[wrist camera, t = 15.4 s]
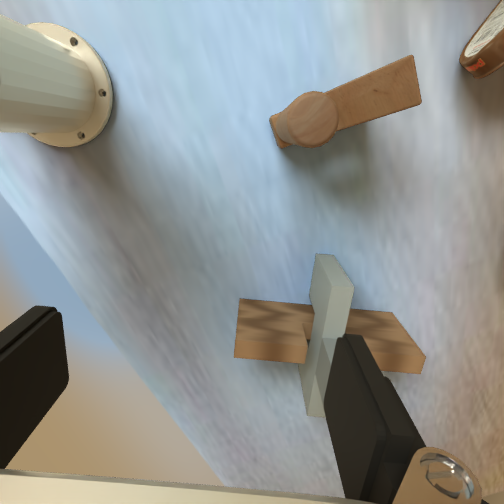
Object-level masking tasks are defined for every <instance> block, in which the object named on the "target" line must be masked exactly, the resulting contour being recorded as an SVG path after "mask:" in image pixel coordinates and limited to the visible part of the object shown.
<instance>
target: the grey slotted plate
mask: <svg viewBox="0 0 504 504" xmlns="http://www.w3.org/2000/svg"><path fill="white" fill-rule="evenodd" d="M353 292H354V286H353V285H352V283H351V281H350V280H349V278H348V277H347V275H346V274H345V272H344V271H343V269H342V267H341V266H340V264H339V263H338V261H337V260H336V258H335V256H334V255H327V254H316V256H315V262H314V268H313V274H312V280H311V286H310V292H309V297H310V300H311V303H312V306H313V309H314V312H315V316H314V322H313V327H312V333H311V338H310V339H306V341H307V345H308V348H307V354H306V359H305V364H302V363H298V368H299V373H300V379H301V385H302V390H303V396H304V401H305V407H306V412H307V416H314V417H326V416H325V412H324V396H325V391H326V387H327V382H328V378H329V373H330V368H331V364H332V359H333V354H334V350H335V345H336V341H337V338H338V337H342V336H343V334H345V329H346V324H347V320H348V315H349V311H350V306H351V301H352V297H353Z"/></svg>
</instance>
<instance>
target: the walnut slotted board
mask: <svg viewBox="0 0 504 504" xmlns="http://www.w3.org/2000/svg"><path fill="white" fill-rule="evenodd" d="M314 316H315V312H314V309H313V306H312V305H305V304H294V303H283V302H272V301H261V300H250V299H240V301H239V310H238V320H237V329H236V339H235V349H234V358H245V359H257V360H268V361H279V362H290V363H302V364H305V359H306V354H307V348H308V345H307V341H306V339H310V338H311V333H312V327H313V322H314ZM345 333H346V334H357V335H362V336H363V338H364V340H365V342H366V344H367V346H368V348H369V350H370V351H371V353H372V355H373V357H374V359H375V361H376V363H377V365H378V367H379V369H380V370H381V371H392V372H404V373H415V374H421V371H422V368H423V365H424V362H425V359H426V356H425V355H424V354H423V352H422V351H421V350H420V348H419V347H418V346H417V344H416V343H415V342H414V341H413V339H412V338H411V337H410V335H409V334H408V333H407V331H406V330H405V329H404V327H403V326H402V325H401V324H400V322H399V321H398V320H397V318H396V317H395V316H394V314H393V313H392V312H381V311H370V310H359V309H350V311H349V315H348V320H347V324H346V329H345Z"/></svg>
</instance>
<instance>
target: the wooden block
mask: <svg viewBox="0 0 504 504" xmlns="http://www.w3.org/2000/svg"><path fill="white" fill-rule="evenodd" d="M421 102H422V100H421V95H420V89H419V84H418V78H417V73H416V67H415V62H414V56H413V55H409V56H407V57H404V58H402V59H400V60H397V61H395V62H393V63H391V64H388V65H386V66H384V67H382V68H379V69H377V70H375V71H373V72H370V73H368V74H366V75H363V76H361V77H359V78H357V79H354V80H352V81H350V82H348V83H345V84H343V85H341V86H339V87H336V88H334V89H332V90H330V91H327V92H325V93H322V92H317V91H311V92H307V93H304V94H302V95H301V96H299V97H297V98H296V99H295V100H294V101H293V102H292V103H291V104H290V105H289V106H288V107H287V108H285V109H284V110H283V111H282V112H280V113H277V114H275V115H272V116H271V117H270V118H269V121H270V124H271V128H272V131H273V134H274V137H275V140H276V143H277V146H278V147H279V148H285V147H287V146H290V145H292V144H294V145H298V146H302V147H308V148H315V147H320V146H322V145H324V144H325V143H327V142H328V141H329V140H330V139H331V138H332V137H333V136H334V134H335V132H336V131H339V130H343V129H346V128H349V127H352V126H355V125H358V124H361V123H364V122H367V121H371V120H374V119H377V118H380V117H383V116H386V115H389V114H392V113H396V112H399V111H402V110H405V109H408V108H411V107H414V106H417V105H420V104H421Z"/></svg>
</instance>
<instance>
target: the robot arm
mask: <svg viewBox="0 0 504 504" xmlns="http://www.w3.org/2000/svg"><path fill="white" fill-rule="evenodd" d="M76 42H78V45H76ZM104 92H106V96H104ZM112 104H113V91H112V86H111V80H110V77H109V74H108V71H107V69H106V67H105V65H104V63H103V61H102V59H101V58H100V56H99V55H98V54H97V52H96V51H95V50H94V48H93V47H92V46H91V45H90V44H89V43H88V42H87V41H86V40H84V39H83V38H82V37H80V36H79V35H77V34H76V33H74V32H73V31H71V30H69V29H67V28H65V27H62V26H59V25H56V24H53V23H44V22H39V23H30V24H28V25H22V24H20V23H18V22H16V21H14V20H12V19H10V18H8V17H6V16H3V15H1V14H0V132H7V133H27V134H29V135H30V136H32V137H33V138H35V139H37V140H38V141H41V142H43V143H46V144H48V145H52V146H57V147H73V146H79V145H82V144H85V143H87V142H89V141H91V140H92V139H94V138H95V137H96V136H97V135H99V134H100V133H101V132H102V130H103V129H104V127H105V126H106V124H107V122H108V119H109V117H110V114H111V109H112ZM83 134H85V138H84V137H83ZM68 381H69V373H68V364H67V356H66V347H65V339H64V330H63V322H62V315H61V313H60V312H57V309H56V308H55V307H48V306H47V307H46V306H34V307H32V308H31V309H30V310H28V311H27V312H26V313H25V314H23V315H22V316H21V317H20V318H18V319H17V320H15V321H14V322H13V323H11V324H10V325H9V326H8V327H6V328H5V329H4V330H2V331H1V332H0V504H488V503H487V502H486V501H484V500H483V499H482V489H481V486H480V484H479V481H478V479H477V478H476V476H475V475H474V474H473V472H472V471H471V470H470V469H469V468H468V467H467V466H466V465H465V464H464V463H463V462H462V461H461V460H459V459H458V458H456V457H455V456H454V455H452V454H450V453H448V452H446V451H444V450H441V449H438V448H434V447H426V445H425V443H424V441H423V440H422V438H421V436H420V434H419V432H418V430H417V429H416V427H415V425H414V423H413V421H412V419H411V418H410V416H409V414H408V412H407V410H406V408H405V407H404V405H403V403H402V401H401V399H400V397H399V396H398V394H397V392H396V390H395V388H394V386H393V385H392V383H391V381H390V380H389V378H387V377H384V376H383V374H382V372H381V370H380V369H379V367H378V365H377V363H376V361H375V359H374V357H373V355H372V353H371V351H370V350H369V348H368V346H367V344H366V342H365V340H364V338H363V336H362V335H357V334H346V333H345V334H343V336H342V337H338V338H337V341H336V345H335V350H334V354H333V359H332V364H331V368H330V373H329V378H328V382H327V387H326V391H325V396H324V412H325V416H326V420H327V424H328V428H329V432H330V436H331V441H332V445H333V449H334V453H335V457H336V461H337V465H338V469H339V473H340V477H341V481H342V485H343V490H344V494H345V498H339V497H329V496H320V495H310V494H301V493H292V492H282V491H270V490H259V489H247V488H236V487H224V486H213V485H201V484H189V483H177V482H165V481H153V480H141V479H128V478H116V477H103V476H90V475H77V474H64V473H51V472H50V473H49V472H37V471H23V470H9V469H5V468H6V466H7V465H8V463H9V462H10V461H11V460H12V458H13V457H14V456H15V454H16V453H17V452H18V450H19V449H20V448H21V446H22V445H23V444H24V442H25V441H26V440H27V438H28V437H29V436H30V434H31V433H32V432H33V431H34V429H35V428H36V427H37V425H38V424H39V423H40V421H41V420H42V419H43V417H44V416H45V415H46V413H47V412H48V411H49V409H50V408H51V407H52V405H53V404H54V403H55V401H56V400H57V399H58V397H59V396H60V395H61V394H62V392H63V391H64V390H65V388H66V386H67V384H68Z"/></svg>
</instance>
